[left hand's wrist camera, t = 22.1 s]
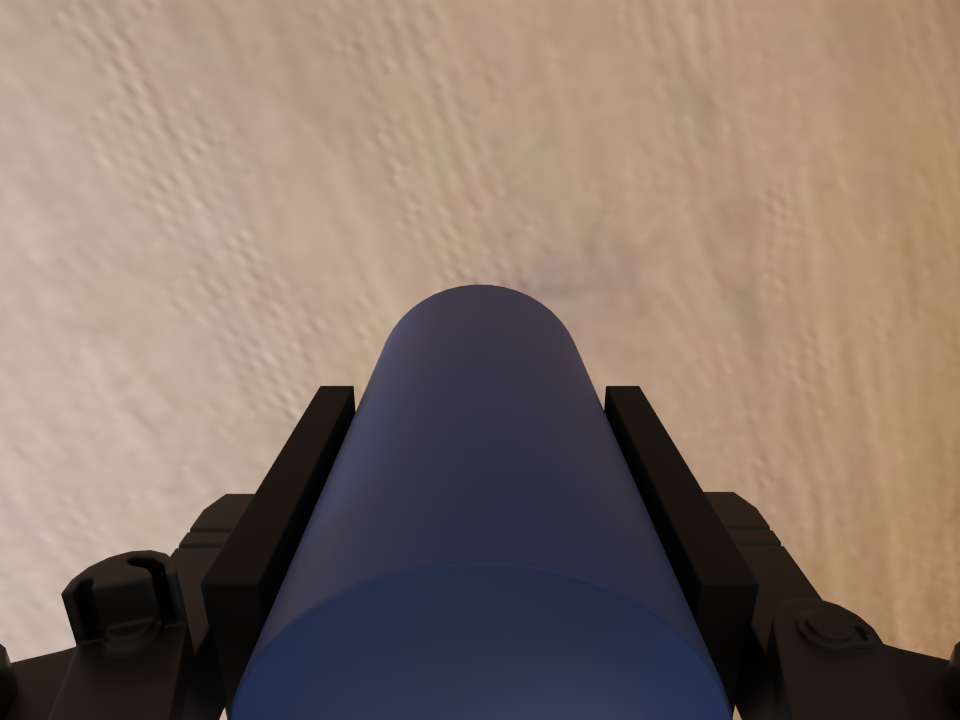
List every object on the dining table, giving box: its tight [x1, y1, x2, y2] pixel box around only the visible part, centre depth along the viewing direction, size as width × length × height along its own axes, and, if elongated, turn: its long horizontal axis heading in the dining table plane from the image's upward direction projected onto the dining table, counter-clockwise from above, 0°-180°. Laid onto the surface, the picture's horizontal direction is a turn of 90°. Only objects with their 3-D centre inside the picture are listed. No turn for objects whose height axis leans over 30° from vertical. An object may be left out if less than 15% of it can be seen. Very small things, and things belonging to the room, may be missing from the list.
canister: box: [228, 285, 733, 720], centre depth 12 cm, size 6×6×11 cm
